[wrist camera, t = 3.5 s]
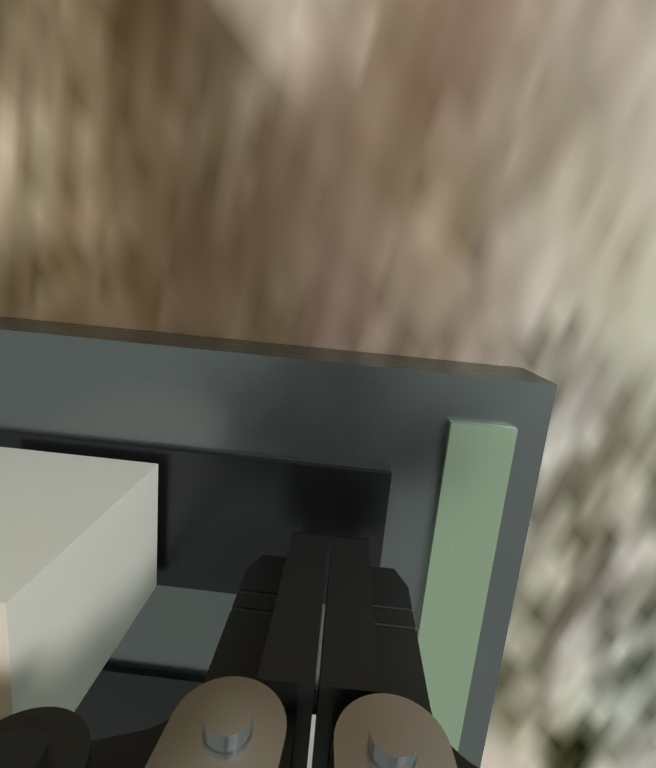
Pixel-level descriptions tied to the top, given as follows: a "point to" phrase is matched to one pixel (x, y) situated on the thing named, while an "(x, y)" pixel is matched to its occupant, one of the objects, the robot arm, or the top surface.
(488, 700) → the breaker board
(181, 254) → the top surface
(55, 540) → the block
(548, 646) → the top surface
